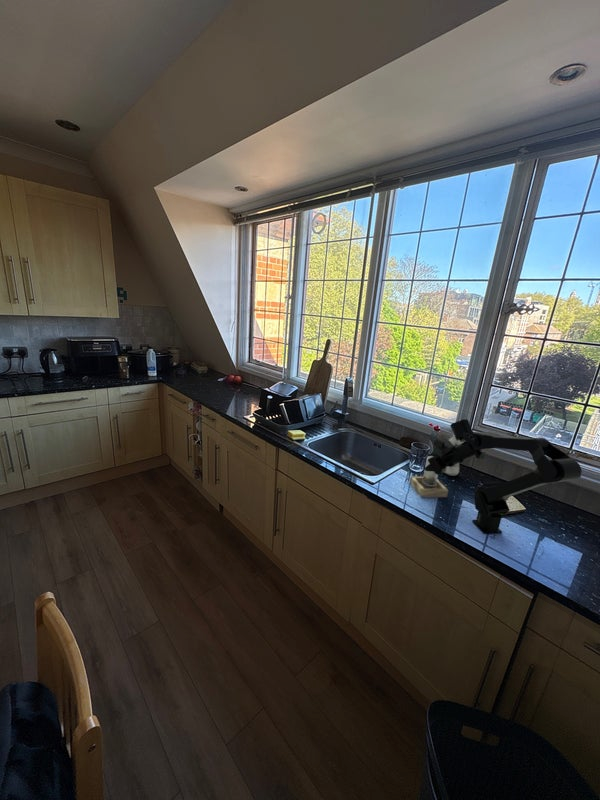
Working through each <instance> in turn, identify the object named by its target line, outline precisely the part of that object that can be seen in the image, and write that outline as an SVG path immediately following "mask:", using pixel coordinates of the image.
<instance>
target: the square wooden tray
mask: <svg viewBox="0 0 600 800" xmlns="http://www.w3.org/2000/svg"><path fill="white" fill-rule="evenodd" d="M409 479H410V480H409V484H410V486H412V488H413V489H414V490H415V491H416V492H417V494H418V495H419V496H420V497H421V498H448V494H449V489H448V488H447V487H446V486H445V485H444V484H443V483H442V482H440V480H439V479H437V486H436V487H435V488H428V487H426V486H424V485H422V483H421V482H422V479H423V476H410V477H409Z"/></svg>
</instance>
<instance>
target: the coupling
mask: <svg viewBox="0 0 600 800" xmlns="http://www.w3.org/2000/svg"><path fill="white" fill-rule="evenodd" d="M433 456H434V455H428V456H427V457H426V461H425V467H427V466H428V465H429V464H430V463H429V462H428V459H429V458H431V457H433ZM425 467H424V468H425ZM438 476H439V474H438V475H437V474H436V473H435V472H433V471H425V470H424V472H423V476H422V477H423V479H422V482H421V483H422V485H424V486H426V487H428V488H435V487H436V486H437V480H438Z"/></svg>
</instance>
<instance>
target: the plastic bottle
mask: <svg viewBox="0 0 600 800" xmlns="http://www.w3.org/2000/svg"><path fill="white" fill-rule="evenodd" d="M448 440H449V441H450V442H451V443H452V444H453V445H454V446H455V445H459V444H461V443H464V442H460V440H458V441H457V440H456V438H455V436H454V434H453V433H452V436H451V437H450V438H449V439H448ZM459 472H460V463H458V464H456V465H454V466H452V467H450V466H449V467H446V471H444V472H443V473H444V474H446V475H448V476H453V477H455V476H457V475H458V474H459Z"/></svg>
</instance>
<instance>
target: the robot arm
mask: <svg viewBox="0 0 600 800" xmlns="http://www.w3.org/2000/svg"><path fill="white" fill-rule="evenodd" d="M449 426H450V429H451V431H452V435H453V434H454V436H455V438H456V440H457V441H458V440H460V442H464V443H461V444H459V445H455V446H454V445H453V444H452V443H451V442H450V441H449V439H448V438H447V437H445V436H444V435H440V436H437V437H436V439H434V440H433V443H432V445H433V446H434V447H435V448H436V449H437V450H440V455H437V454H436V455H432V456H433V457H431V458H429V459H428V462H429V463H430V464H429V465H428V466H427V467H424V471H433V472H435V473H436V474H437V475H438V476H439V474H442V473H444V471H446V467H449V466H450V467H452V466H454V465H456V464H458V463H459V464H460V463H461V464H462V463H463V462H465V461H468V460H469V459H471V458H473V457H475V458H476V460H484V459H485V455H486V452H485V451H483V450H492V449H493V450H494V449H501V450H512V451H513V450H514V451H523V452H529V454H531V456H532V459H533V462H534V464H535V466H536V467H535V468H534V470H533V471H532V472H529V473H527V474H524V475H521V476H518V477H516V478H514V479H512V480H508V481H506V482H503V483H502V482H501V481H493V482H491V481H490V482H485V483H484V484H481V485H477V488H476V489H475V490H474V507H475V510H476V511H477V515H476V519H472V521H471V522H472V523H473V524H474V525H475V526H476V527H477V528H478V529H479V530H480V531H481V532H482V533H483V534H485V535H486V534H487V535H488V534H489V535H491V534H494V535H495V534H496V535H497V534H502V533H503V531H502V530H501V529H500V525H501V521H502V519H503V517H502V515H508V513H509V512H510V511H511V509H510V507H509V505H508V503H507V501H508V499H509V498H510V497H512V496H515V495H519V494H521V493H524V492H526V491H529V490H533V489H535V488H539V487H541V486H545V485H547V484H553V483H560V482H569V481H576V480H579V479H580V478H581V477H582V468H581V467H582V466H581V465H580V464H579V462H578V461H576V460H575V459H573V458H571V457H570V456H569V454H567V453H566V452H565V451H563V450H561V449H560V448H558V447H557V446H555V445H553V444H552V443H551V442H550V441H549V440H548V439H546V438H545V437H522V436H504V435H501V434H498V433H497V432H491V431H482V432H479V431H477V432H476V431H473V429H472V427H471V424H470V421H469V420H468V418H467V419H466V418H462V419H461V420H458V421H455V422H452V423H451V424H450V425H449Z"/></svg>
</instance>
